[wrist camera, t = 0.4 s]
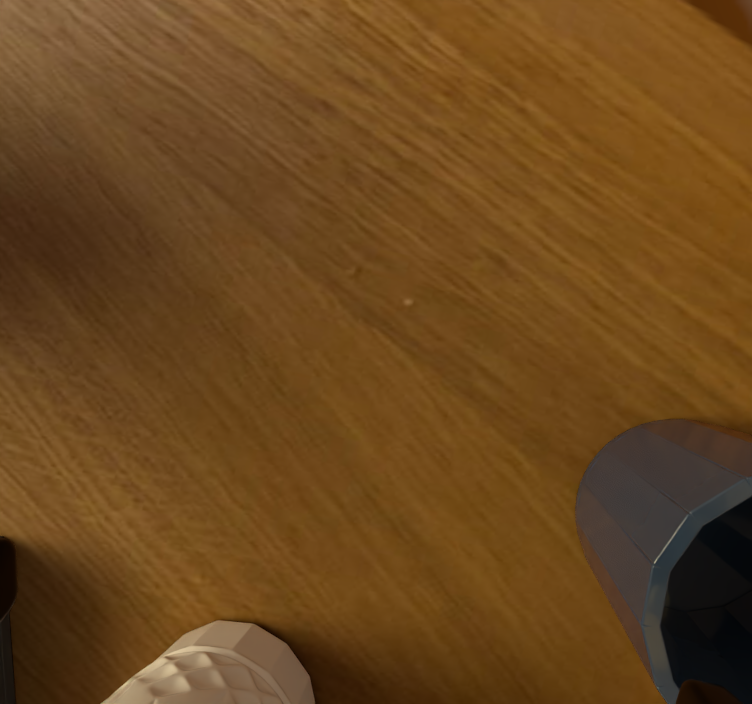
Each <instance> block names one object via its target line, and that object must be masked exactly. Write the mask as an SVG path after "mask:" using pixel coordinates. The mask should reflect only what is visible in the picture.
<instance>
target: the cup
mask: <svg viewBox="0 0 752 704" xmlns="http://www.w3.org/2000/svg"><path fill="white" fill-rule="evenodd" d="M575 511H576V525H577V531H578V536H579V539H580V542H581V545H582V548H583V551H584V555H585V558H586V560H587V562H588V563H589V565H590V567H591V569H592V571H593V573H594V574H595V576H596V578H597V580H598V582H599V584H600V585H601V587H602V589H603V591H604V593H605V595H606V596H607V598H608V600H609V602H610V604H611V606H612V608H613V609H614V611H615V613H616V615H617V617H618V619H619V620H620V622H621V624H622V626H623V628H624V630H625V631H626V633H627V635H628V637H629V639H630V641H631V642H632V644H633V646H634V648H635V650H636V652H637V653H638V655H639V657H640V659H641V661H642V663H643V664H644V666H645V668H646V670H647V672H648V674H649V675H650V677H651V679H652V681H653V683H654V685H655V686H656V688H657V690H658V691H659V693H660V694H661V695H662V697H663V698H664V700H665V701H666V702H667V704H676V700H677V697H678V693H679V690H680V688H681V685H682V684H683V683H684V681H686V680H689V679H693V680H698V681H703V682H708V683H713V684H718V685H720V686H723V687H725V688H726V689H727V690H728V691H730V692H731V693H732V694H733V695H734V696H735V697H737V698H738V699H739V700H740V701H741V702H742V703H744V704H752V435H749V434H746V433H743V432H739V431H736V430H733V429H730V428H727V427H724V426H719V425H713V424H708V423H704V422H700V421H695V420H686V419H666V420H658V421H653V422H649V423H645V424H641V425H639V426H636V427H634V428H632V429H629V430H627V431H626V432H624V433H622V434H620V435H618V436H617V437H616V438H614V439H613V440H612V441H610V442H609V443H608V444H607V445H605V446H604V447H603V448H602V449H601V450H600V451H599V452H598V454H597V455H596V456H595V457H594V459H593V460H592V461H591V463H590V464H589V466H588V468H587V470H586V471H585V473H584V475H583V478H582V480H581V483H580V486H579V490H578V494H577V499H576V508H575Z"/></svg>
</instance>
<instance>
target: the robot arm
mask: <svg viewBox="0 0 752 704" xmlns="http://www.w3.org/2000/svg"><path fill="white" fill-rule="evenodd" d="M17 592H18V581H17V556H16V547H15V545H14V543H13V542H12V541H10V540H8V539H4V538H0V622H1V621H2V620H3V618H4V617H5V616H6V615H7V613H8V612H9V611H10V609H11V608H12V606H13V604H14V602H15V599H16V597H17ZM676 704H744V703H742V702H741V701H740V700H739V699H738V698H737V697H735V696H734V695H733V694H732V693H731V692H730V691H728V690H727V689H726V688H725V687H723V686H720V685H718V684H713V683H708V682H703V681H698V680H693V679H689V680H686V681H684V683H683V684H682V685H681V688H680V690H679V693H678V697H677V700H676Z"/></svg>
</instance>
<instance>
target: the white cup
mask: <svg viewBox="0 0 752 704" xmlns="http://www.w3.org/2000/svg"><path fill="white" fill-rule="evenodd" d="M101 704H315V699H314V694H313V689H312V685H311V680H310V676H309V674H308V673H307V671H306V670H305V669H304V667H303V666H302V664H301V663H300V662H299V660H298V659H297V657H296V656H295V655H294V653H293V652H292V650H291V649H290V647H289V646H288V645H287V643H285V642H284V641H282V640H280V639H279V638H277V637H275V636H274V635H272V634H270V633H269V632H267V631H265V630H264V629H262V628H260V627H259V626H257V625H255V624H253V623H243V622H232V621H222V620H217V621H214V622H212V623H209V624H207V625H205V626H202V627H200V628H197V629H195V630H193V631H190V632H188V633H186V634H184V635H183V636H182V637H181V638H179V639H178V640H177V641H176V642H175V643H174V644H173V645H172V646H171V647H170V648H168V649H167V650H166V651H165V652H164V653H163V654H162V655H161V656H160V657H159V658H158V659H156V660H155V661H154V662H153V663H151V664H150V665H148V666H147V667H145V668H144V669H143V670H141V671H140V672H138V673H137V674H136V675H134V676H133V677H131V678H130V679H129V680H128V681H127V682H126V683H124V684H123V685H122V686H121V687H120V688H119V689H118V690H116V691H115V692H114V693H113V694H112V695H111V696H110V697H109V698H107V699H106V700H105V701H103V702H102V703H101Z"/></svg>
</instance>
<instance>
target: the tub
mask: <svg viewBox="0 0 752 704" xmlns="http://www.w3.org/2000/svg"><path fill="white" fill-rule="evenodd" d="M0 538H4V537H3V536H0ZM0 704H15V690H14V676H13V661H12V647H11V633H10V619H9V612H8V613H7V615H6V616H5V617H4V618H3V620H2V621H1V622H0Z"/></svg>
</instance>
